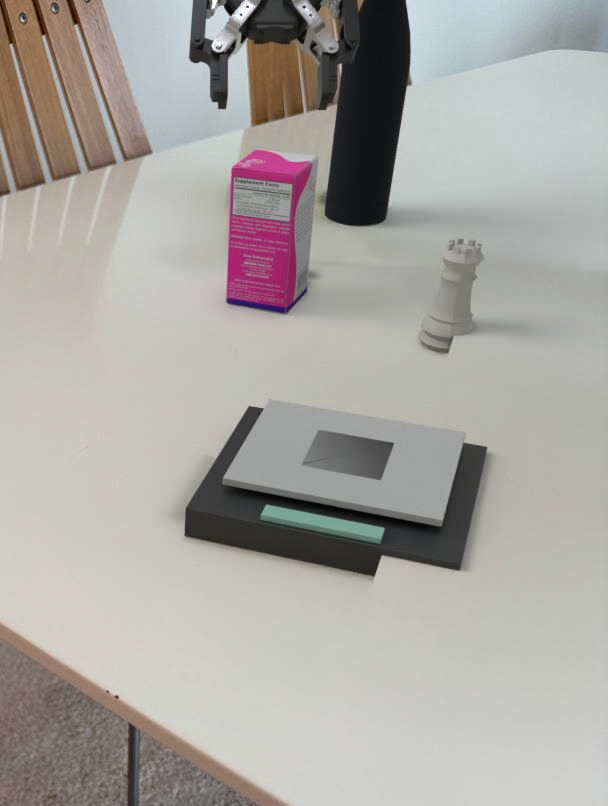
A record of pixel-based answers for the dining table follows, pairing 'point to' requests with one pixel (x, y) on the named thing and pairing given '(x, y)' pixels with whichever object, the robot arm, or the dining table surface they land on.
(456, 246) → the rook chess piece
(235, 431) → the kitchen scale
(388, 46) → the wine bottle
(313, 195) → the supplement box
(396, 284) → the dining table surface
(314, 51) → the robot arm
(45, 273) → the dining table surface
